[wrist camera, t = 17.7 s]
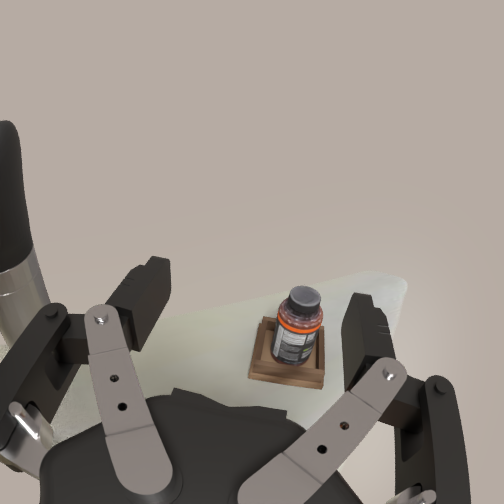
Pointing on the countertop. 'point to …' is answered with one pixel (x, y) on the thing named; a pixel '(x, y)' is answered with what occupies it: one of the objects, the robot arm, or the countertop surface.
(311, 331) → the supplement bottle
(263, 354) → the square wooden tray
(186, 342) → the countertop surface
